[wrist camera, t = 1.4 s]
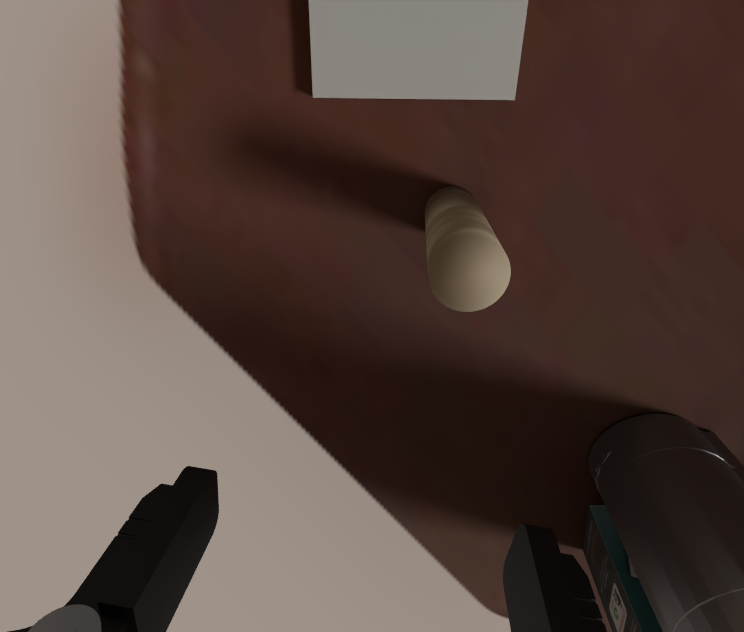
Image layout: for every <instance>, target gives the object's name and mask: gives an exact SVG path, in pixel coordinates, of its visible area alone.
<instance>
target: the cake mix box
mask: <svg viewBox="0 0 744 632" xmlns="http://www.w3.org/2000/svg"><path fill="white" fill-rule="evenodd" d="M583 552H584V554H585V557H586V560H587V563H588V565H589V568H590V571H591V574H592V576H593V579H594V582H595V585H596V587H597V590H598V593H599V596H600V598H601V601H602V604H603V607H604V609H605V612H606V615H607V618H608V620H609V623H610V626H611V629H612V631H613V632H663V631H662V629H661V626H660V624H659V622H658V620H657V618H656V616H655V613H654V611H653V609H652V607H651V605H650V602H649V600H648V598H647V596H646V594H645V592H644V589H643V587H642V585H641V583H640V581H639V578H638V576H637V574H636V572H635V570H634V567H633V565H632V563H631V561H630V559H629V557H628V554H627V552H626V550H625V548H624V546H623V543H622V541H621V539H620V537H619V535H618V533H617V530H616V528H615V526H614V524H613V522H612V519H611V517H610V515H609V513H608V511H607V508H606V506H605V505H589V509H588V516H587V523H586V530H585V537H584V544H583Z"/></svg>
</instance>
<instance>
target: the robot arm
mask: <svg viewBox="0 0 744 632" xmlns="http://www.w3.org/2000/svg"><path fill="white" fill-rule="evenodd" d="M588 464H589V470H590V473H591V475H592V477H593V479H594V481H595V484H596V488H597V490H598V491H599V493H600V495H601V497H602V499H603V501H604V504H605V506H606V508H607V511H608V513H609V515H610V517H611V519H612V522H613V524H614V526H615V528H616V530H617V533H618V535H619V537H620V539H621V541H622V543H623V546H624V548H625V550H626V552H627V554H628V557H629V559H630V561H631V563H632V565H633V567H634V570H635V572H636V574H637V576H638V578H639V581H640V583H641V585H642V587H643V589H644V592H645V594H646V596H647V598H648V600H649V602H650V605H651V607H652V609H653V611H654V613H655V616H656V618H657V620H658V622H659V624H660V626H661V629H662V631H663V632H744V466H743V465H742V464H741V463H740V462H739V460H738V459H737V458H736V457H735V456H734V455H733V454H732V452H731V451H730V450H729V449H728V448H727V447H726V446H725V445H724V443H723V442H722V441H721V440H720V439H719V438H718V437H717V435H716V434H715V433H713V432H705V431H701V430H699V429H698V428H697V427H696V426H694V425H693V424H692V423H691V422H689V421H687V420H685V419H683V418H681V417H677V416H673V415H669V414H645V415H640V416H636V417H631V418H629V419H626V420H624V421H621V422H619V423H617V424H615V425H614V426H612V427H611V428H609V429H607V430H606V431H605V432H604V433H603V434H602V435H601V436H600V437H599V438H598V439H597V441H596V442H595V443H594V445H593V447H592V449H591V451H590V453H589V460H588ZM218 513H219V504H218V483H217V472H216V471H214V470H208V469H202V468H197V467H191V466H187V467H186V468H184V470H183V471H182V472H181V474H180V475H179V477H178V478H177V480H176V481H175V483H174V485H173V486H172V485H166V484H160V485H159V486H158V487H156V488H155V489H154V490H152V491H151V492H150V493H149V494H147V495H146V496H145V497H143V498H142V499H141V501H140V502H139V504H138V505H137V507H136V508H135V509H134V511H133V512H132V514H131V515H130V516H129V520H128V521H126V522H125V524H124V525H123V526H122V528H121V529H120V531H119V532H118V536H116V537H115V538H114V539H113V541H112V542H111V544H110V545H109V546H108V548H107V549H106V551H105V552H104V553H103V555H102V556H101V558H100V559H99V560H98V562H97V563H96V565H95V566H94V568H93V569H92V570H91V572H90V574H89V575H88V576H87V578H86V579H85V580H84V582H83V583H82V585H81V586H80V588H79V589H78V590H77V592H76V593H75V594H74V596H73V597H72V598H71V600H70V601H69V602H68V603H67V604H66V605H65V606H64V607H62V608H59V609H57V610H55V611H52V612H51V613H49V614H48V615H46V616H44V617H43V618H42V619H40V620H39V621H38V622H37V623H35V625H33V626H31V627H28V628H25V629H20V630H16V631H9V632H166V630H167V628H168V626H169V624H170V622H171V620H172V618H173V616H174V614H175V612H176V610H177V608H178V605H179V603H180V601H181V599H182V597H183V595H184V593H185V591H186V589H187V587H188V585H189V583H190V581H191V579H192V576H193V574H194V572H195V570H196V568H197V566H198V564H199V562H200V560H201V558H202V556H203V554H204V552H205V550H206V548H207V545H208V543H209V541H210V539H211V537H212V535H213V533H214V530H215V527H216V524H217V519H218ZM503 584H504V591H505V597H506V603H507V609H508V615H509V621H510V627H511V632H607V630H606V627H605V624H603V623H602V616H601V613H600V610H599V607H598V604H596V599H595V596H594V593H593V590H592V587H591V584H590V581H589V578H588V576H587V575H586V573H585V572H584V570H583V569H582V568H581V566H580V565H579V563H578V562H577V561H576V559H575V558H574V557H573V555H569V554H563V553H560V550H559V547H558V543H557V540H556V537H555V534H554V532H553V530H552V529H550V528H545V527H540V526H534V525H528V524H520V525H519V526H518V528H517V531H516V534H515V536H514V539H513V541H512V544H511V547H510V549H509V552H508V554H507V557H506V560H505V563H504V570H503Z"/></svg>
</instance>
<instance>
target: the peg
mask: <svg viewBox="0 0 744 632" xmlns="http://www.w3.org/2000/svg"><path fill="white" fill-rule="evenodd" d="M425 231H426V249H427V267H428V281H429V285H430V289H431V291H432V293H433V294H434V296H435V297H436V298H437V300H438V301H440V302H441V303H442V304H443V305H445V306H446V307H448V308H450V309H453V310H457V311H462V312H472V311H477V310H481V309H484V308H486V307H488V306H490V305H492V304H493V303H495V302H496V301H497V300H498V299H499V298H500V297H501V296H502V295H503V293H504V292H505V290H506V288H507V286H508V284H509V280H510V274H511V269H510V263H509V260H508V257H507V255H506V253H505V251H504V250H503V248H502V246H501V244H500V243H499V241H498V239H497V237H496V235H495V234H494V232H493V230H492V228H491V227H490V225H489V223H488V221H487V220H486V218H485V216H484V214H483V212H482V211H481V209H480V207H479V205H478V204H477V202H476V200H475V198H474V197H473V195H472V194H471V193H470V192H469V191H467V190H466V189H464V188H461V187H457V186H448V187H444V188H442V189H439V190H438V191H436V192H435V193H434V194H433V195H432V196H431V197H430V198H429V200H428V202H427V204H426V207H425Z"/></svg>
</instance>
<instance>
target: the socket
mask: <svg viewBox="0 0 744 632" xmlns="http://www.w3.org/2000/svg"><path fill="white" fill-rule="evenodd" d="M527 6H528V0H309V19H310V43H311V66H312V90H313V98H385V99H469V100H515V94H516V87H517V79H518V72H519V65H520V57H521V50H522V43H523V35H524V28H525V20H526V13H527Z"/></svg>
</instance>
